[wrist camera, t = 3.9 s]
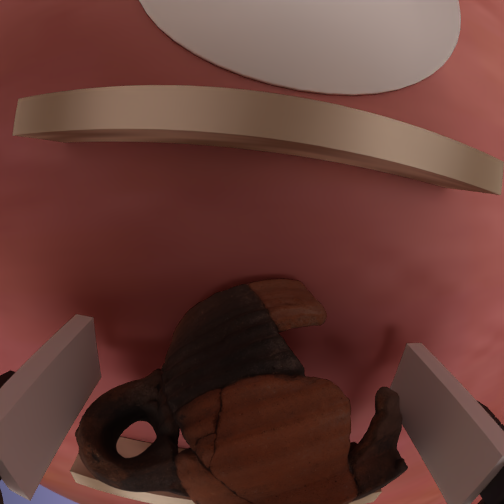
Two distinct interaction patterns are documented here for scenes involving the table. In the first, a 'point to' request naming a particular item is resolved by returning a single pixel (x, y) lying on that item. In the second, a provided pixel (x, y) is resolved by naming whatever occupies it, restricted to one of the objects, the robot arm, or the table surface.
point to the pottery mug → (243, 413)
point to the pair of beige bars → (253, 138)
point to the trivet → (316, 40)
